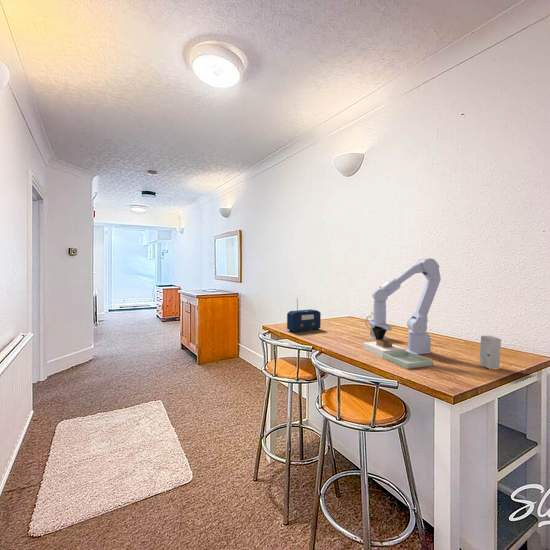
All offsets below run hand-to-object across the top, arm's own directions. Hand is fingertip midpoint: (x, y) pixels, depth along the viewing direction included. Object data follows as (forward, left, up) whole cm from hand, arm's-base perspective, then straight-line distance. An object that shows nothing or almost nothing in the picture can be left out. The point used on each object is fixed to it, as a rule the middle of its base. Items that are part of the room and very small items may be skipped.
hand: (379, 342), depth 144 cm
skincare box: (-27, +34, -4) cm, 43 cm away
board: (0, +3, -4) cm, 5 cm away
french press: (-15, -22, -4) cm, 27 cm away
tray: (0, +18, -4) cm, 19 cm away
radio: (+16, -52, -4) cm, 55 cm away
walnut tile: (0, +4, +1) cm, 4 cm away
